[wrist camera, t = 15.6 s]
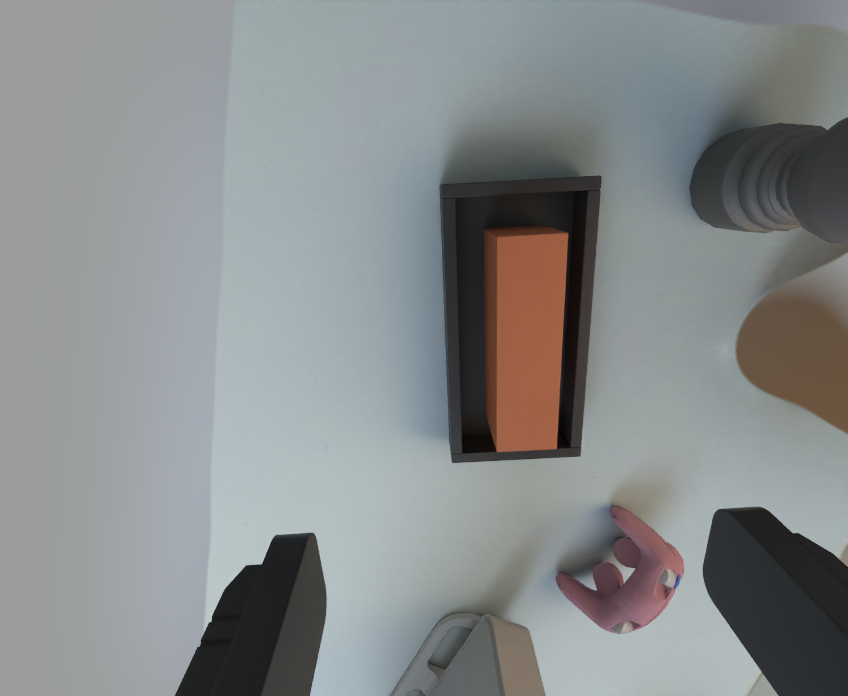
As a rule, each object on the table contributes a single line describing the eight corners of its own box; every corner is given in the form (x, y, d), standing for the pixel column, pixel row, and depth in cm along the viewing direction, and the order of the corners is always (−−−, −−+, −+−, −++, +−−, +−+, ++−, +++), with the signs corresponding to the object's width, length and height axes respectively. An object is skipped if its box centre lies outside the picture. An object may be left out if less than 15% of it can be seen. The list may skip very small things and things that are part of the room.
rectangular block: (483, 228, 30) (497, 236, 25) (542, 224, 30) (568, 232, 25) (484, 413, 35) (496, 452, 30) (536, 410, 35) (556, 449, 30)
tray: (439, 184, 30) (441, 184, 27) (584, 176, 30) (602, 175, 27) (449, 441, 36) (452, 463, 33) (567, 435, 36) (580, 456, 33)
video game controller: (576, 577, 43) (631, 650, 38) (547, 579, 41) (601, 659, 35) (638, 502, 40) (707, 570, 35) (611, 500, 38) (681, 573, 33)
